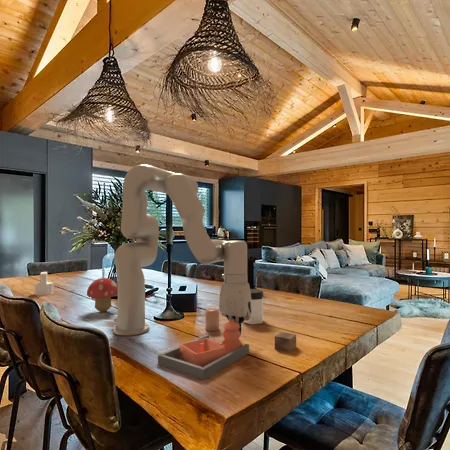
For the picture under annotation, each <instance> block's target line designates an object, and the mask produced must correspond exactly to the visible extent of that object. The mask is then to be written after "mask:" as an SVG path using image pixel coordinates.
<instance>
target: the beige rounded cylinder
mask: <svg viewBox="0 0 450 450" xmlns="http://www.w3.org/2000/svg"><path fill="white" fill-rule="evenodd" d="M204 317H205V331H208V332H217V331H220V311H219V308H217V307H216V308H215V307H213V308H212V307H211V308H206V309H205V316H204Z"/></svg>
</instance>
